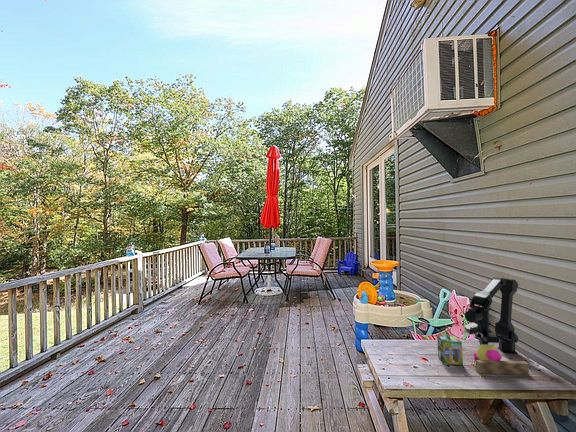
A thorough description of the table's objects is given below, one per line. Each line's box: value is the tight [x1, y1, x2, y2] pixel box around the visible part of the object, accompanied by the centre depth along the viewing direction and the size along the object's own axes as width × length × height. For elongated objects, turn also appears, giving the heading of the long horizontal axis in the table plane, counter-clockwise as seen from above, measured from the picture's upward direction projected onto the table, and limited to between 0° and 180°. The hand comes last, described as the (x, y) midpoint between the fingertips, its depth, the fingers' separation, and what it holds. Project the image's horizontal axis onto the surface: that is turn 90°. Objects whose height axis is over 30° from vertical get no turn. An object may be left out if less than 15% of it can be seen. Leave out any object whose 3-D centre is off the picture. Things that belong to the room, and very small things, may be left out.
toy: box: [473, 344, 502, 361], centre depth 145 cm, size 10×18×10 cm, turn 176°
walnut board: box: [475, 359, 530, 376], centre depth 135 cm, size 22×2×5 cm, turn 85°
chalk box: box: [436, 330, 464, 366], centre depth 148 cm, size 9×9×15 cm
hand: (483, 349), depth 150 cm, fingers closed, pressing on toy
